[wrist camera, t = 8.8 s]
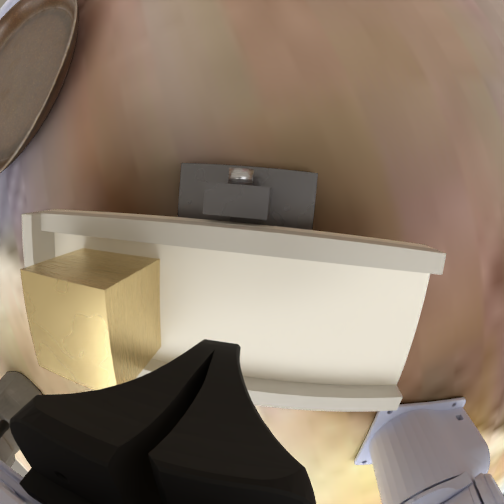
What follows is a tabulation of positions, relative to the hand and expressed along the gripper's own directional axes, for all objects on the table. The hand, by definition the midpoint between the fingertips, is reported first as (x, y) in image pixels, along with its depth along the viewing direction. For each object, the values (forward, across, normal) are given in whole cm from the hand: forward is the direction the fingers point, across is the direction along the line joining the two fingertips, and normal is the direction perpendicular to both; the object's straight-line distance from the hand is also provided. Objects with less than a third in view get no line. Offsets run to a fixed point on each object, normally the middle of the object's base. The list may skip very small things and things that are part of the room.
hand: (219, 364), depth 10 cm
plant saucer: (+9, +24, -17) cm, 31 cm away
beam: (+6, 0, 0) cm, 6 cm away
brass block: (+4, +7, 0) cm, 8 cm away
